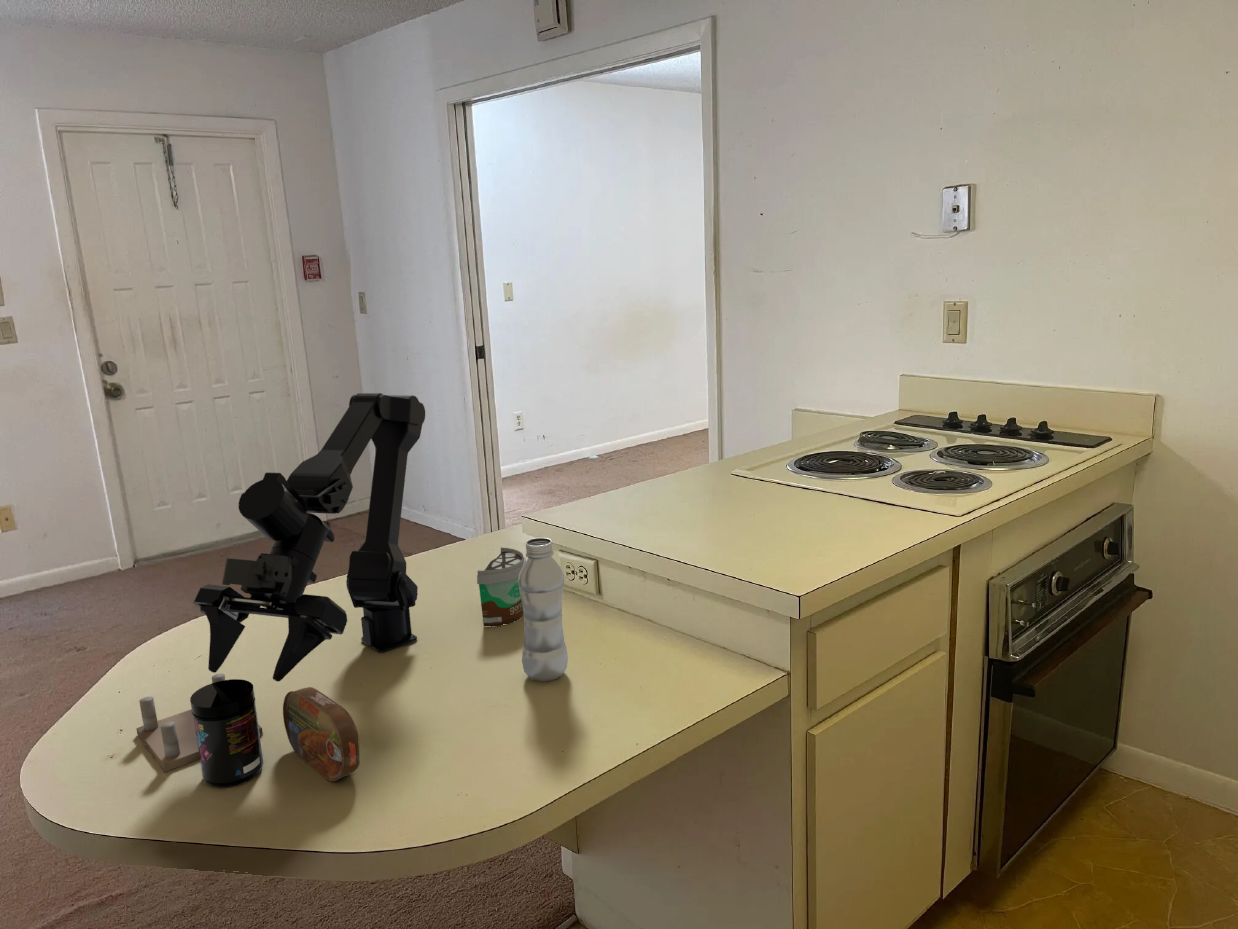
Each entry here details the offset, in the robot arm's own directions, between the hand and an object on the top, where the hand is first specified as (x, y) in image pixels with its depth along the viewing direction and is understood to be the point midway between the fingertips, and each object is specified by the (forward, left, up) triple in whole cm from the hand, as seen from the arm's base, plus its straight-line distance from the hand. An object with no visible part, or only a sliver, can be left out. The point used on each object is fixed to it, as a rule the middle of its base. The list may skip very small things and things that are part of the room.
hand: (243, 675), depth 106 cm
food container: (-47, -12, -11) cm, 50 cm away
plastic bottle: (-38, +9, -11) cm, 40 cm away
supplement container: (+3, +2, -11) cm, 12 cm away
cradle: (+3, -10, -11) cm, 15 cm away
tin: (-6, +7, -11) cm, 14 cm away
